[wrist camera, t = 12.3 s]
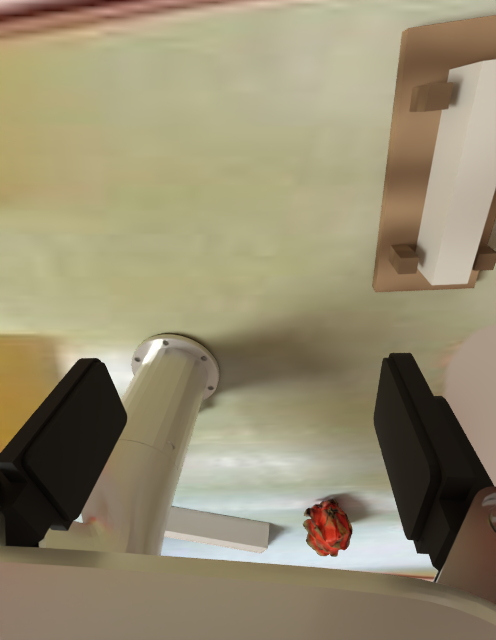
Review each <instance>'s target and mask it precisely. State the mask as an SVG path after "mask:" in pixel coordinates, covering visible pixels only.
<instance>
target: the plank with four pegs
mask: <svg viewBox="0 0 496 640" xmlns="http://www.w3.org/2000/svg"><path fill="white" fill-rule="evenodd" d="M495 59H496V15H494V16H487V17H480V18H473V19H467V20H460V21H453V22H447V23H440V24H433V25H426V26H420V27H413V28H408V29H406V30H405V31H403V32H402V39H401V47H400V56H399V64H398V73H397V81H396V90H395V98H394V107H393V115H392V124H391V132H390V141H389V149H388V158H387V166H386V175H385V183H384V192H383V200H382V209H381V217H380V226H379V234H378V243H377V251H376V260H375V268H374V277H373V285H372V286H373V288H374V290H375V292H391V291H415V290H439V289H462V288H474V286H475V283H476V280H477V276H478V273H479V270H493V269H494V266H495V263H496V251H495V250H493V249H492V248H490V247H489V246H487V244H488V241H489V237H490V234H491V231H492V227H493V224H494V221H495V218H496V188H495V192H494V195H493V199H492V202H491V205H490V209H489V212H488V216H487V219H486V222H485V226H484V229H483V233H482V236H481V239H480V243H479V246H478V250H477V253H476V256H475V260H474V263H473V267H472V270H471V273H470V277H469V280H468V284H450V285H431V284H430V283H429V282H428V280H427V279H426V278H425V277H424V276H423V274H422V273H421V272H420V271H419V270H418V268H417V267H418V262H419V257H418V255H417V254H416V253H415V252H416V246H417V241H418V236H419V230H420V225H421V220H422V214H423V209H424V204H425V198H426V193H427V188H428V182H429V177H430V172H431V166H432V161H433V156H434V150H435V145H436V140H437V134H438V129H439V124H440V118H441V113H442V110H445V109H448V108H449V103H450V97H451V92H452V87H453V82H448V83H447V81H448V75H449V70H450V69H454V68H458V67H462V66H465V65H469V64H473V63H477V62H481V61H487V60H495Z"/></svg>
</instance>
